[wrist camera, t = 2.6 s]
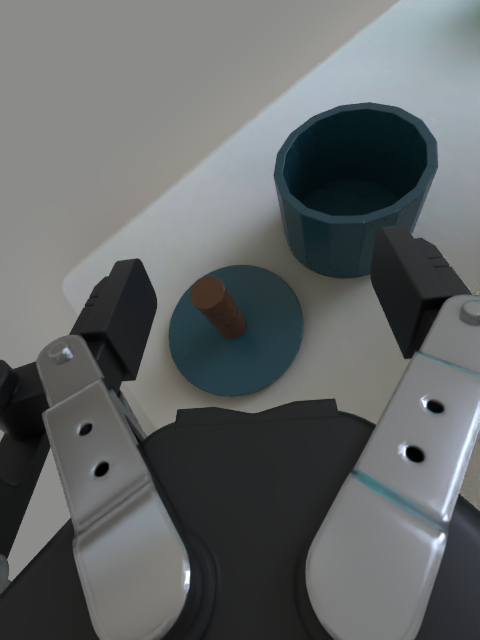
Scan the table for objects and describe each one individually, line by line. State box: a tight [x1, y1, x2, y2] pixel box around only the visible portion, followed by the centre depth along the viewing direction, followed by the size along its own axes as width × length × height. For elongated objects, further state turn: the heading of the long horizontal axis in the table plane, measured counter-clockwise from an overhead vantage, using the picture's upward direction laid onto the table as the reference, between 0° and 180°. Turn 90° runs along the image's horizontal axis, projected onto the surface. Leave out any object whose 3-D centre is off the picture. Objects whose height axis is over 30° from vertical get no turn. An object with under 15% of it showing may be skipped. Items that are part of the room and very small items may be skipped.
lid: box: [169, 265, 303, 397], centre depth 27 cm, size 12×12×8 cm
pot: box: [274, 102, 438, 278], centre depth 28 cm, size 11×11×8 cm
